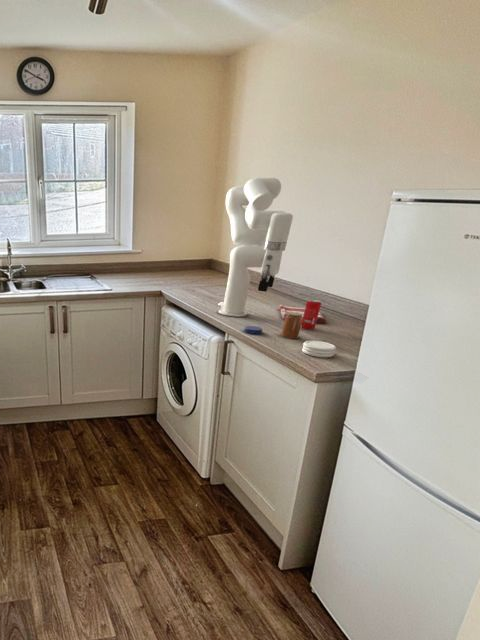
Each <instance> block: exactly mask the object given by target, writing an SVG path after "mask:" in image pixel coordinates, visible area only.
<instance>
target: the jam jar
mask: <svg viewBox="0 0 480 640" xmlns="http://www.w3.org/2000/svg"><path fill="white" fill-rule="evenodd" d="M302 319H303V318H302V314H301V313H296V312H289V313H287V316H286V317H285V320H284V321H283V326H282V330H281V334H280V336H281V337H282V338H284V339H292V340H293V339H295V340H296V339H298V338H299V334H300V331H301V328H302V326H301V323H302Z"/></svg>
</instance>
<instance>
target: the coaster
mask: <svg viewBox="0 0 480 640" xmlns="http://www.w3.org/2000/svg"><path fill="white" fill-rule="evenodd" d="M336 349H337V347H336V346H335V345H334V344H332V343H330V342H326V341H322V340H306V341H304V342H303V344H302V349H301V352H302V353H303V354H305V355H308V356H311V357H317V358H323V359H324V358H325V359H326V358H333V357H334V355H335V352H336Z"/></svg>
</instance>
